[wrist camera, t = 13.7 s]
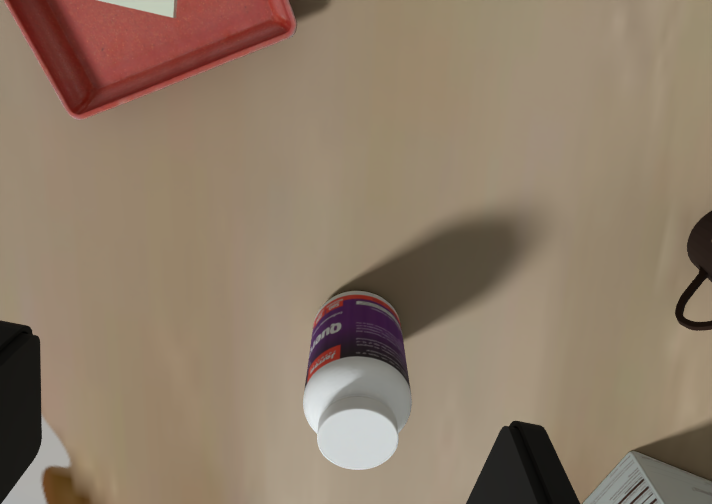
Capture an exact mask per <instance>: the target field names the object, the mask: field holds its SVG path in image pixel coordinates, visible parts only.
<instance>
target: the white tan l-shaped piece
mask: <svg viewBox="0 0 712 504" xmlns="http://www.w3.org/2000/svg"><path fill="white" fill-rule="evenodd" d="M98 1H102V2H106V3H111V4H115V5H120V6H124V7H128V8H133V9H137V10H141V11H146V12H150V13H154V14H159V15H163V16H168V17H172V18H176V12H177V0H98Z"/></svg>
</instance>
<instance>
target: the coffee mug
mask: <svg viewBox="0 0 712 504" xmlns="http://www.w3.org/2000/svg"><path fill="white" fill-rule="evenodd" d="M687 252H688V256H689V258H690V260H691V262H692V263H693V264H694V265H695V266H696V267H697V268H698V269H699V274H698V275H697V276H696V278H695V279H694V280H693V281H692V283H691V284H690V285H689V286H688V288H687V289H686V290H685V291H684V293H683V294H682V295H681V297H680V299H679V301H678V303H677V306H676V310H675V315H676V318H677V320H678V322H679V323H680V324H681V325H682V326H684V327H686V328H688V329H691V330H711V329H712V321H707V322H694V321H690V320H688V319H686V318H685V317H684V316H683V312H684V308H685V305H686V303H687V301H688V300H689V299H690V297H691V296H692V295H693V294H694V292H695V291H696V290H697V289H698V287H699V286H700V285H701V284H702V282H703V281H704V280H705V279H706V278H708V279H709V280H710V281H711V282H712V211H711V212H709V213H708V214H706V215H705V216H704V217H703V218H701V220H700V221H699V222H698V223H697V224H696V225H695V227H694V228H693V230H692V231H691V234H690V236H689V239H688V243H687Z"/></svg>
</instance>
